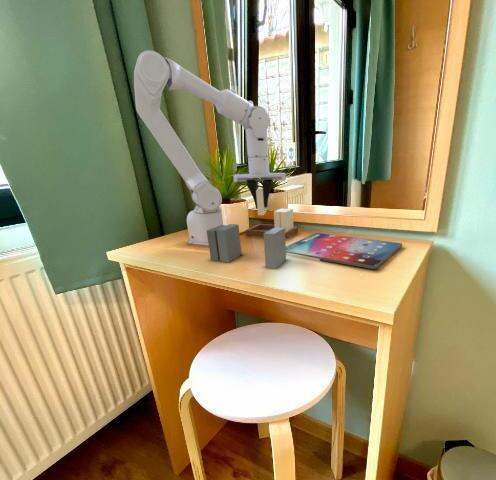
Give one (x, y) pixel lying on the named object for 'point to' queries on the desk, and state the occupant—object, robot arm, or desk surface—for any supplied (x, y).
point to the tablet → (345, 249)
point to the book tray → (263, 228)
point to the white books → (284, 219)
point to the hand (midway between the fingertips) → (261, 207)
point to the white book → (260, 201)
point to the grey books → (229, 248)
